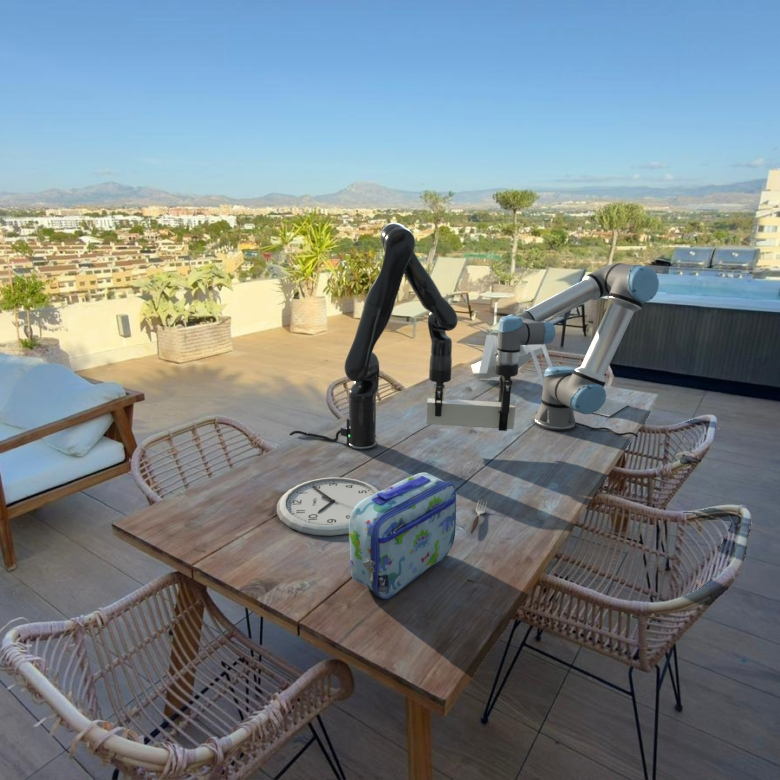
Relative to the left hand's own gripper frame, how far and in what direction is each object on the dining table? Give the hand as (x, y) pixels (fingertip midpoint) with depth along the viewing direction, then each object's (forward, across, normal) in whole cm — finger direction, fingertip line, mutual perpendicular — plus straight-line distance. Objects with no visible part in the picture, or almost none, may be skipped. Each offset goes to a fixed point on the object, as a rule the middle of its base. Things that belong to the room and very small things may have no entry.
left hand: (438, 413), depth 184 cm
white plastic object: (+10, -74, +33) cm, 82 cm away
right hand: (+4, 0, +22) cm, 23 cm away
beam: (+3, 0, +11) cm, 12 cm away
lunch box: (+11, +76, -5) cm, 77 cm away
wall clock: (+11, +50, -27) cm, 58 cm away
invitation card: (+10, -49, +69) cm, 86 cm away
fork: (+11, +52, +12) cm, 54 cm away
